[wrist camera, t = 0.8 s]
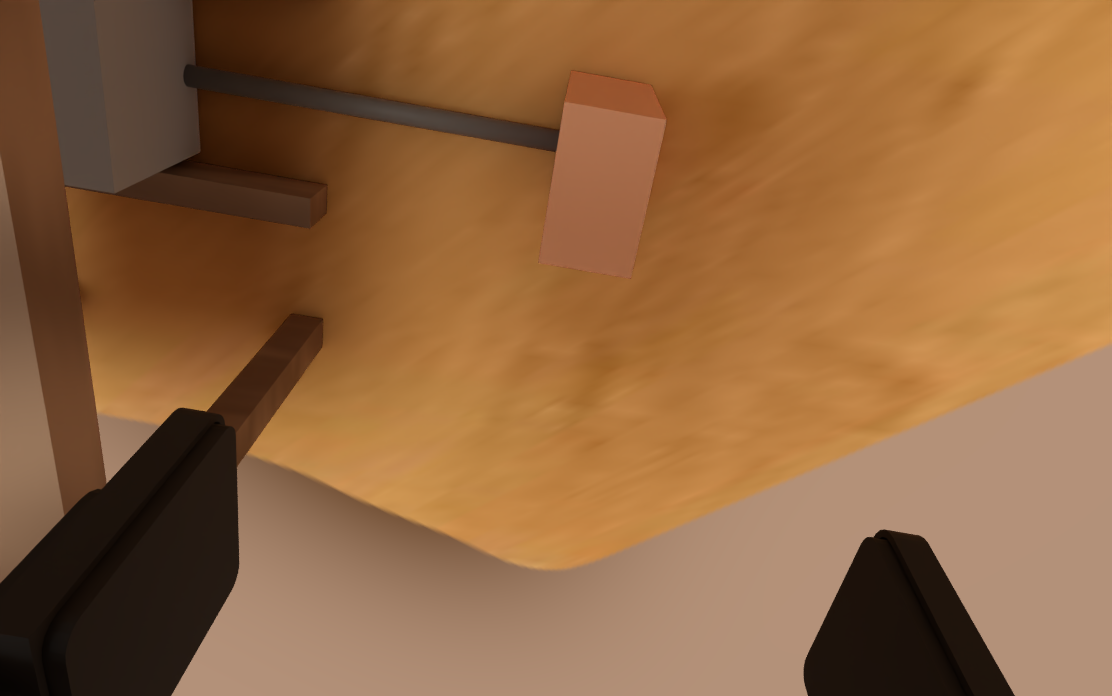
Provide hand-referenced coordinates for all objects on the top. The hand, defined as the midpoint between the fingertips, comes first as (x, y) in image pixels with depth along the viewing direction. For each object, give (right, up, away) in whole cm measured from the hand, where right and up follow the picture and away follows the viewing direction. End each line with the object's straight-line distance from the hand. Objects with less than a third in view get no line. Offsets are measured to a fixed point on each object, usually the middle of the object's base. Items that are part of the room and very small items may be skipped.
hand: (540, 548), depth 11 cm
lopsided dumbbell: (-8, +12, +17) cm, 23 cm away
